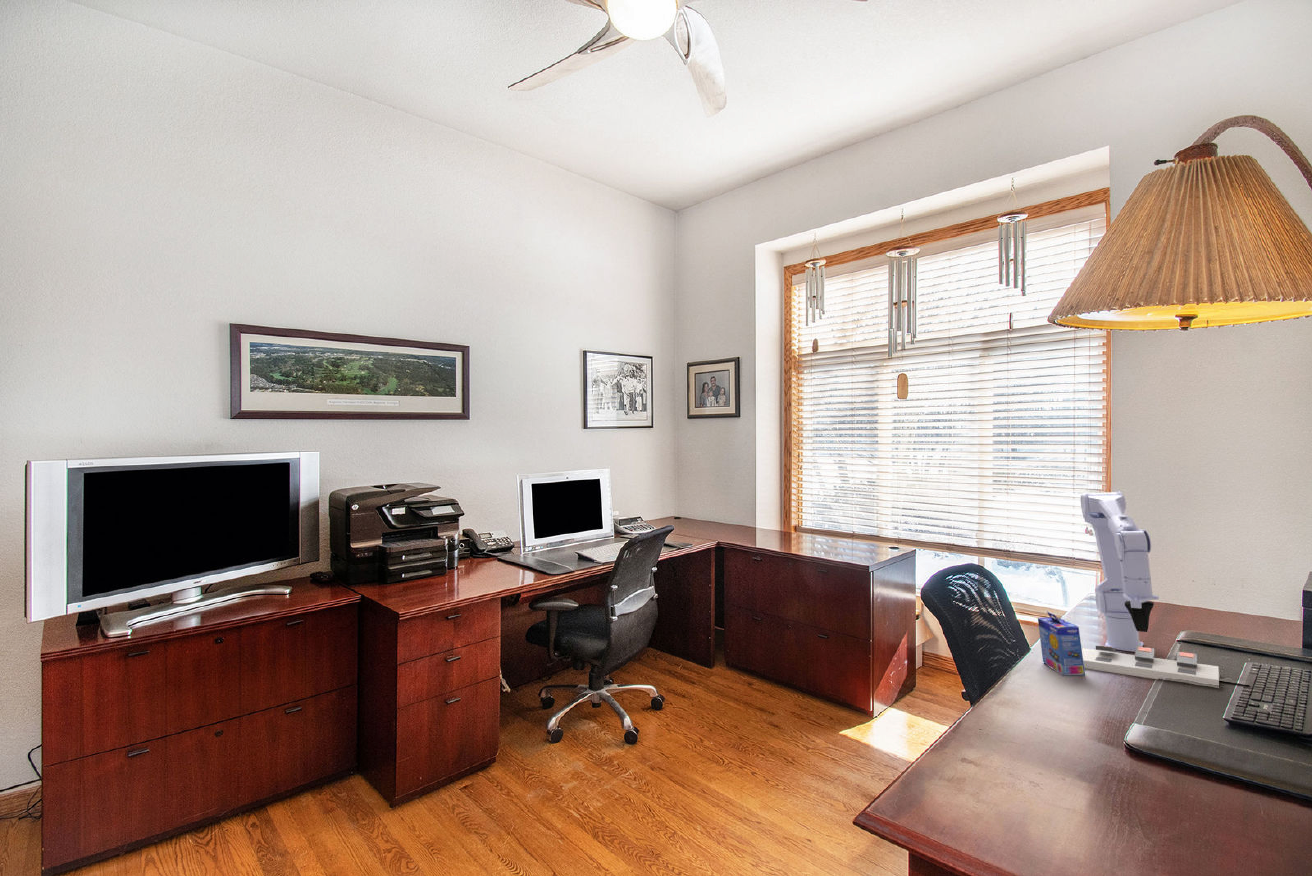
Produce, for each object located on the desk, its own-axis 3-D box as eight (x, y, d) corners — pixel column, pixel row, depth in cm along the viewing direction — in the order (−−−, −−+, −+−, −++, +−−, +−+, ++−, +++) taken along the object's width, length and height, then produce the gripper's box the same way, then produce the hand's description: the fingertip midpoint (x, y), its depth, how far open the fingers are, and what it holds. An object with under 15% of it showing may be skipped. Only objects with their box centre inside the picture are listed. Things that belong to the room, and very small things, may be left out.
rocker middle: (1136, 649, 152) (1136, 645, 152) (1154, 652, 149) (1154, 648, 149) (1135, 659, 148) (1134, 656, 148) (1153, 662, 146) (1153, 658, 146)
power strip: (1083, 655, 160) (1082, 647, 160) (1248, 678, 138) (1247, 669, 138) (1076, 667, 152) (1075, 658, 152) (1250, 693, 130) (1249, 684, 130)
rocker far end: (1099, 649, 157) (1098, 645, 158) (1115, 651, 155) (1115, 647, 155) (1095, 649, 154) (1095, 645, 154) (1113, 651, 151) (1112, 647, 152)
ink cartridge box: (1040, 663, 157) (1035, 608, 157) (1062, 662, 156) (1057, 607, 157) (1062, 676, 147) (1056, 618, 148) (1086, 675, 146) (1080, 617, 147)
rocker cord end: (1177, 655, 146) (1176, 651, 146) (1196, 657, 144) (1196, 653, 144) (1177, 665, 143) (1176, 661, 143) (1197, 668, 140) (1196, 664, 140)
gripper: (1154, 583, 142) (1160, 640, 141) (1158, 573, 152) (1164, 626, 151) (1117, 581, 147) (1123, 636, 146) (1124, 571, 157) (1129, 622, 156)
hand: (1142, 631), depth 149 cm, fingers closed
